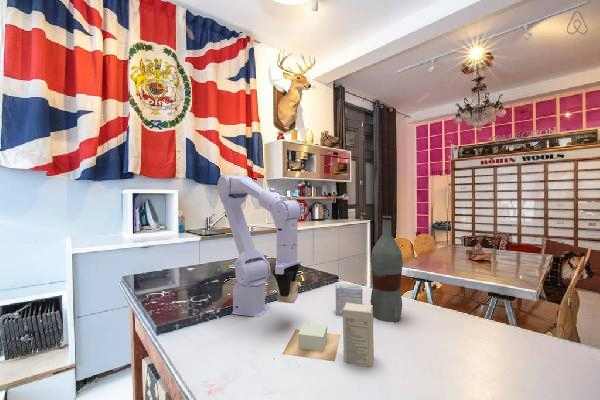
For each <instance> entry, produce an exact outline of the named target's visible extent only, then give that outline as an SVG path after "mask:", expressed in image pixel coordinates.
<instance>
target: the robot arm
mask: <svg viewBox="0 0 600 400" xmlns="http://www.w3.org/2000/svg"><path fill="white" fill-rule="evenodd" d="M216 189H217V193H218V196H219V199H220V202H221V203H222V205H223V209H224V211H225V215H226V217H227V220H228V225H229V227H230V228H229V229H230V230H231V233H232V237H233V239H234V242H235V246H236V249H237V252H238V257H237V258H236V260H235V261H234V263H233V265H234V270H235V279H236V283H235V284H234V287H233V291H232V312H231V314H232V315H238V316H244V317H245V316H247V317H259V318H260V317H262V316H263V315H264V314H265V312H266V311H267V310H269V308H270V304H268V305H267V304H266V282H267V281H268V278H269V277H270V275H271V266H270V263H269V262H268V260H267V259H266V257H265V254H264V253H262V252H260V251H259V250H257V248H256V247H255V244H254V240H253V238H252V234H251V231H250V229H249V226H248V222H247V220H246V218H245V214H244V211H243V209H242V205H243V204H244V203H245V202H246V200H247V198H248V196H251V197H253V198H255V199H257V203H258V204H259V206H261V207H262V208H264V209H265V211H268V212H270V214H271V215H272V216H271V217H272V219H273V221H274V226H275V228H276V259H275V267H274V269H273V270H272V275H273V276H274V278H275V281H276V283H277V289H278V288H279V292H280V296H284V297H288V296H289V292H290V284H291V281H296V279H297V275H298V272H299V270H300V268H301V264H302V262H303V261H302V259H298V220H299V219H300V218H301V216H302V214H303V209H302V205H301V203H300V202H299V201H298V200H296V199H288V198H287V196H285V195H281V194H280V193H278V192H277V189H275V188H274V187H273V188H272V187H271V188H265V189H264V188H263V187H261V186H260V185H259V184H258V183H256V182H255V181H254V180H253V178H252V177H249V176H247V175H227V174H222V175H221V176H219V178H218V181H217V186H216ZM236 306H238V308H237V307H236Z"/></svg>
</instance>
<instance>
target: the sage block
mask: <svg viewBox="0 0 600 400" xmlns="http://www.w3.org/2000/svg"><path fill="white" fill-rule="evenodd" d="M299 330H300V332H299V333H298V349H305V350H313V351H320V352H323V351H324V348H325V345H326V341H327V333H328V325H327V324H320V323H311V322H310V323H309V322H303V324H302V326H301V327H300V329H299Z"/></svg>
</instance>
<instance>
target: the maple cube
mask: <svg viewBox="0 0 600 400" xmlns="http://www.w3.org/2000/svg"><path fill="white" fill-rule="evenodd" d="M298 287H299V281H296V280H295V281H291V284H290V292H289V296H288V297H284V296H280V292H279V288H278V287H277V303H285V304H286V303H287V304H295V303H296V301H297V299H298V297H299V296H298V295H299V290H298V289H299V288H298Z"/></svg>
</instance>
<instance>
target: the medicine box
mask: <svg viewBox="0 0 600 400" xmlns="http://www.w3.org/2000/svg"><path fill="white" fill-rule="evenodd" d="M363 291H364V290H363V288H362V285H361V284H353V283H352V284H351V283H336V284H335V316H342V317H343V308H344V306H345V304H346V303H355V304H363Z"/></svg>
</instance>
